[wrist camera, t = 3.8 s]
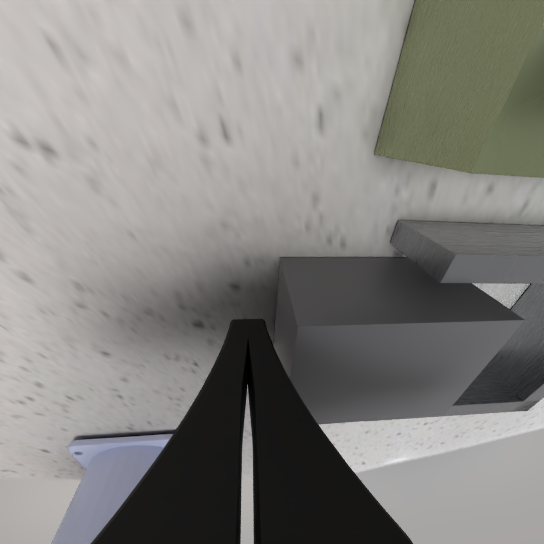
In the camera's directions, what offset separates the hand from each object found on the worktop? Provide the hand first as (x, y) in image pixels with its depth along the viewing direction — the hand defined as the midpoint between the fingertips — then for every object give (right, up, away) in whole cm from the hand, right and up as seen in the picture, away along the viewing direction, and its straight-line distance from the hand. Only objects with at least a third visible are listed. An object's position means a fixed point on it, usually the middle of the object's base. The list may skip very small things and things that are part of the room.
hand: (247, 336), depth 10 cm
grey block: (+5, +1, +2) cm, 5 cm away
